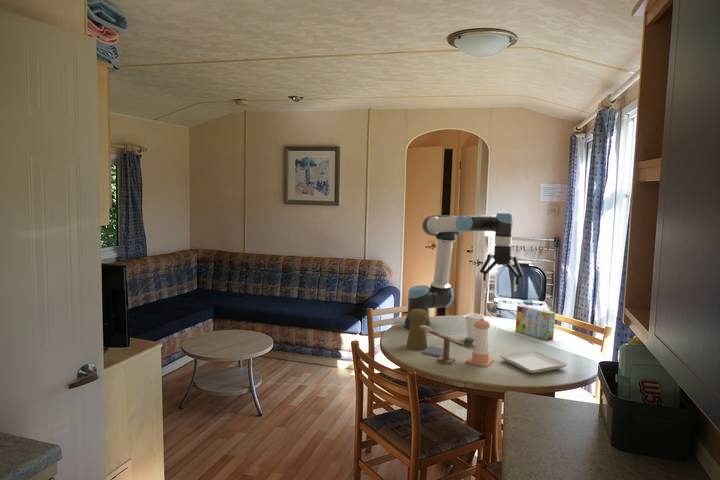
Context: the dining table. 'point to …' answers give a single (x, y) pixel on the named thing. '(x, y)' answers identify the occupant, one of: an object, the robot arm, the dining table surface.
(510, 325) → the dining table surface
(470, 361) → the orange square coaster
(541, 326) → the snack box
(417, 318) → the pepper shaker
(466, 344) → the balance
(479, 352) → the pepper shaker
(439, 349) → the dish slate
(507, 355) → the salad plate
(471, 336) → the foam cup
